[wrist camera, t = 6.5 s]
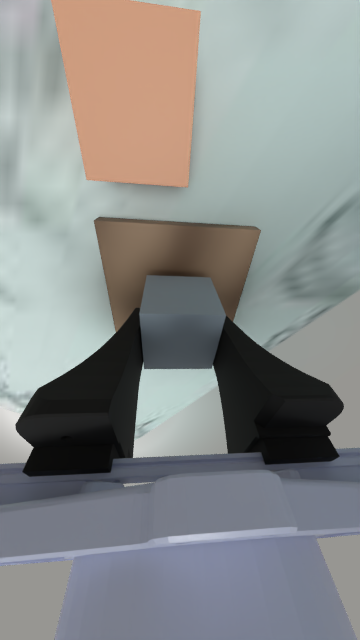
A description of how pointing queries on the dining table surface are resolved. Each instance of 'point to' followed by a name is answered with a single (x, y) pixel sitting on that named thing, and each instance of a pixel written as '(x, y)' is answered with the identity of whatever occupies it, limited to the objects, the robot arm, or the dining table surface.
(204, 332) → the slate cube
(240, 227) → the walnut base plate
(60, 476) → the robot arm
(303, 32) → the dining table surface
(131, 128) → the terracotta cube
